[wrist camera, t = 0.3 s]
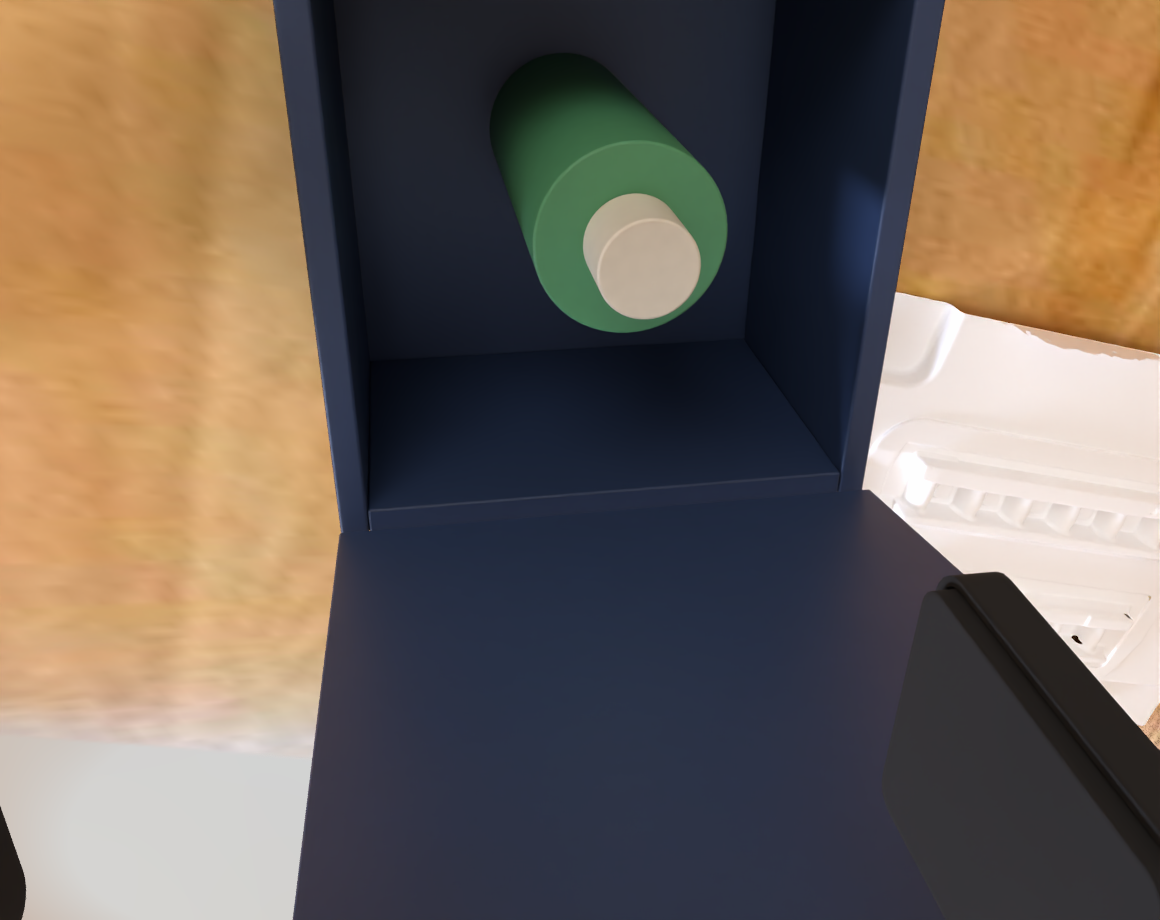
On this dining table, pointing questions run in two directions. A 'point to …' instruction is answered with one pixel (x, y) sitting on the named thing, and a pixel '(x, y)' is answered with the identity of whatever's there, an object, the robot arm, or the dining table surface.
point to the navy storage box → (515, 294)
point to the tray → (1032, 474)
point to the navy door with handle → (618, 717)
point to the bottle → (605, 196)
